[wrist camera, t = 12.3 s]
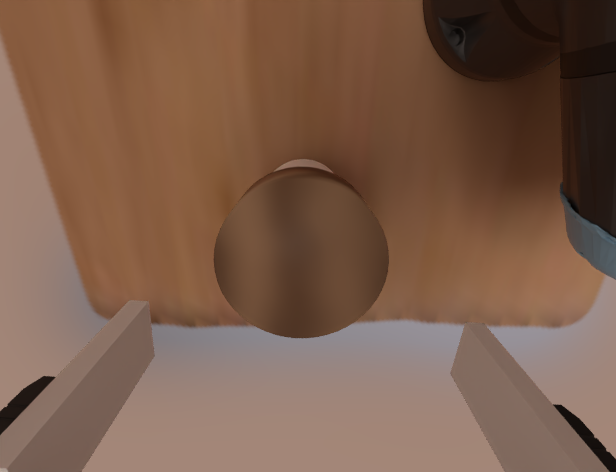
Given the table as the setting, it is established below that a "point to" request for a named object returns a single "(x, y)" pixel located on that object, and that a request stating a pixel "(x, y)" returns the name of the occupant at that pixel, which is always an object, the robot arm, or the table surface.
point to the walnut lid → (301, 254)
